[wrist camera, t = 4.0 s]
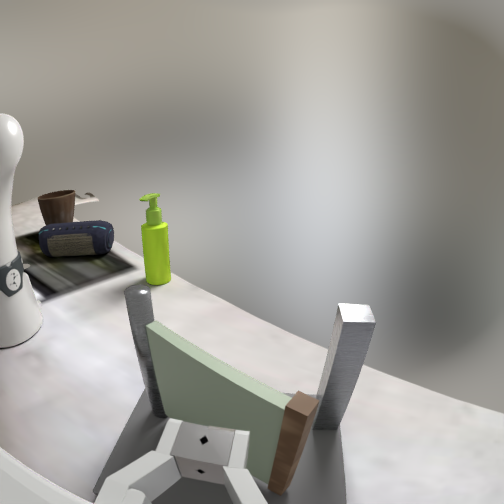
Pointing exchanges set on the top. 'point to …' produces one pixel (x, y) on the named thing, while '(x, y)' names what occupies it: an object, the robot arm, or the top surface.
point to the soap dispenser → (155, 244)
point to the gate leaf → (232, 405)
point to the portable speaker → (76, 238)
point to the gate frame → (329, 393)
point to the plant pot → (57, 206)
